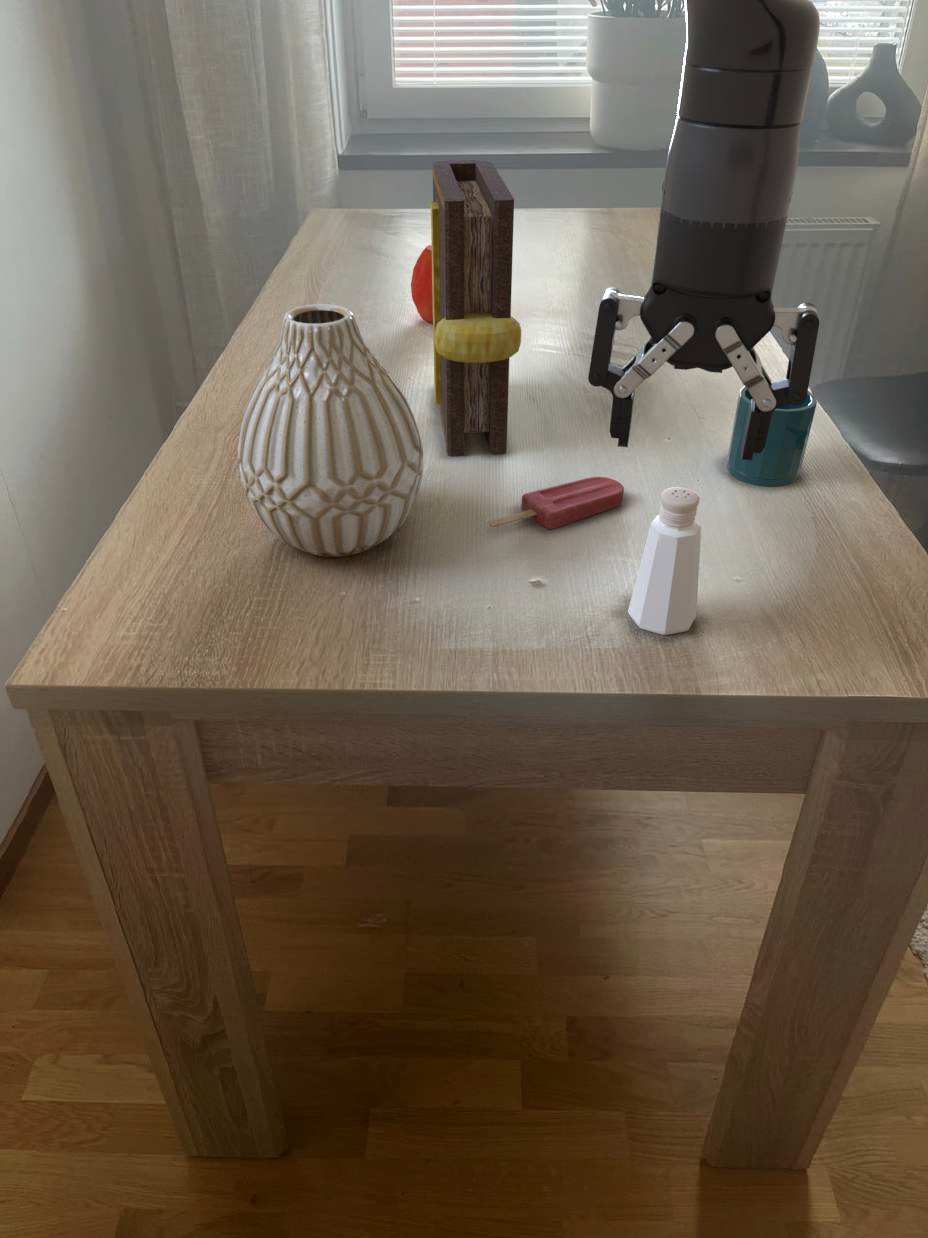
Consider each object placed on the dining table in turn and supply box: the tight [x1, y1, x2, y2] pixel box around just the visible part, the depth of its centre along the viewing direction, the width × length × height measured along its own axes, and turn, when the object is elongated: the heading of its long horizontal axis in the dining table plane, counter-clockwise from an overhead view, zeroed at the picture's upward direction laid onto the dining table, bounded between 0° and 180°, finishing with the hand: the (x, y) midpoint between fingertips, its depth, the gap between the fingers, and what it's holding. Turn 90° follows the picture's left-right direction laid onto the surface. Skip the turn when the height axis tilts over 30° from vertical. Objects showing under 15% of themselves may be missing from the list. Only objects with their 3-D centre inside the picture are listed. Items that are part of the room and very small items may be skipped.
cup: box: [726, 385, 818, 487], centre depth 92 cm, size 7×7×8 cm
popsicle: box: [487, 476, 625, 530], centre depth 87 cm, size 4×2×15 cm
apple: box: [410, 244, 433, 324], centre depth 130 cm, size 8×8×11 cm
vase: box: [236, 303, 424, 558], centre depth 78 cm, size 16×16×20 cm
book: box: [430, 159, 522, 457], centre depth 97 cm, size 22×8×25 cm, turn 5°
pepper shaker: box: [627, 486, 702, 636], centre depth 71 cm, size 5×5×11 cm
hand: (684, 449), depth 65 cm, fingers open, 8 cm apart
